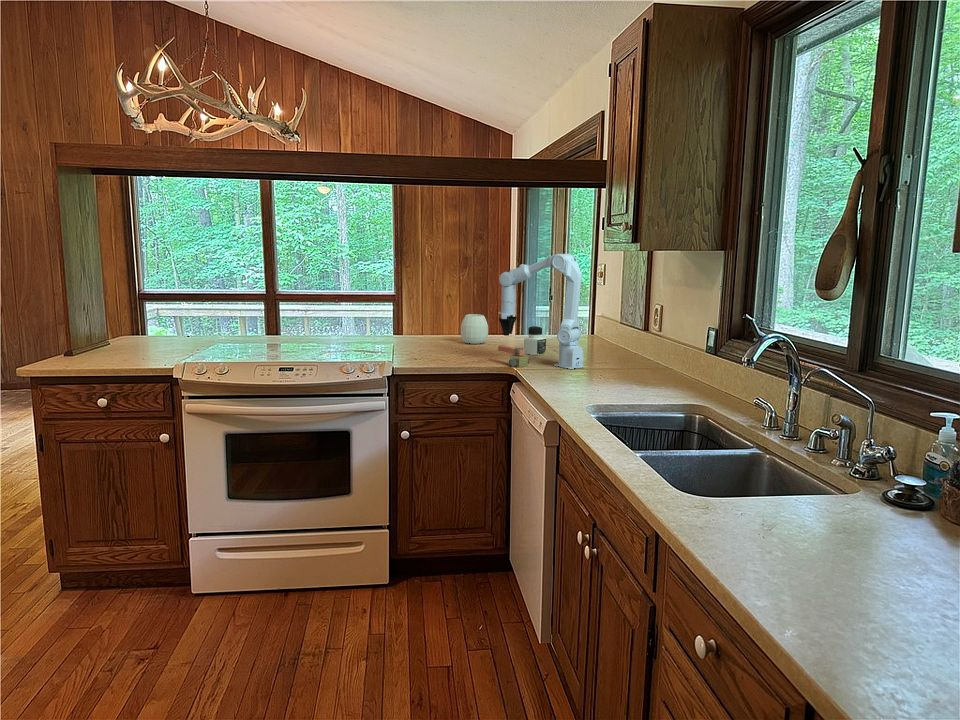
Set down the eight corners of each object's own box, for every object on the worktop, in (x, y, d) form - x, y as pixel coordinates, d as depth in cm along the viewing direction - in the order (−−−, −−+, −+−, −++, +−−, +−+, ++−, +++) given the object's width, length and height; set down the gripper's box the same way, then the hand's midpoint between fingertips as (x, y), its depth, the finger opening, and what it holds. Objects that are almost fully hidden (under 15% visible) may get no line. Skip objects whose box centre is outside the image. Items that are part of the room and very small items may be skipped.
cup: (454, 343, 324) (455, 315, 322) (471, 340, 335) (472, 313, 332) (476, 346, 317) (477, 317, 314) (493, 343, 327) (494, 315, 325)
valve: (531, 366, 268) (531, 355, 267) (515, 368, 264) (515, 357, 263) (521, 363, 273) (522, 353, 272) (506, 365, 268) (506, 355, 268)
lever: (525, 355, 267) (525, 349, 266) (518, 355, 265) (519, 349, 265) (503, 350, 278) (503, 344, 278) (497, 350, 276) (497, 344, 276)
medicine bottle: (537, 355, 292) (537, 328, 290) (523, 354, 297) (524, 326, 294) (546, 353, 298) (546, 326, 296) (532, 352, 302) (532, 325, 300)
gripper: (503, 299, 286) (502, 331, 288) (494, 302, 272) (493, 336, 275) (519, 300, 284) (518, 332, 287) (511, 303, 270) (510, 337, 273)
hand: (507, 334), depth 281 cm, fingers open, 5 cm apart
